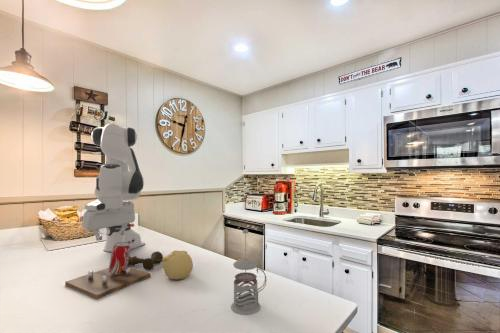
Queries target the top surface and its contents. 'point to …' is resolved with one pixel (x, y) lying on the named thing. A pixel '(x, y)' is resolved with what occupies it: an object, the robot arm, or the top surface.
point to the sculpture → (177, 265)
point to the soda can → (119, 258)
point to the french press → (246, 301)
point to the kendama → (146, 260)
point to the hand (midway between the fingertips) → (110, 237)
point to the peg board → (111, 282)
